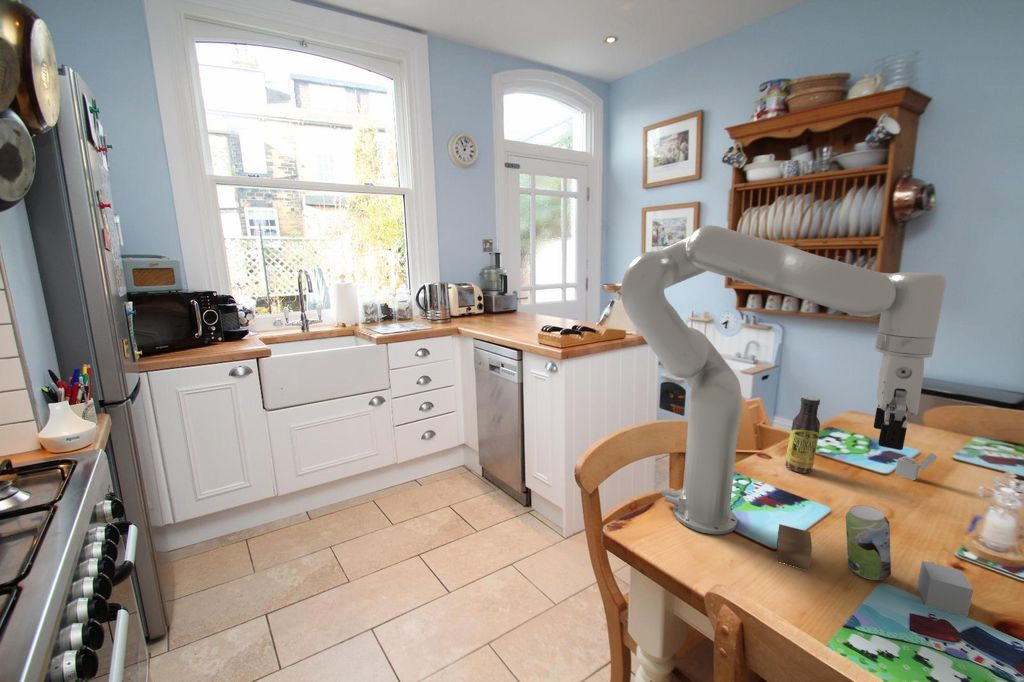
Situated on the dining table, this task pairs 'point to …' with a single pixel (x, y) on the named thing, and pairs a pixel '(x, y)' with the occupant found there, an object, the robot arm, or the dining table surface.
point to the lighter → (912, 466)
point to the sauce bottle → (804, 436)
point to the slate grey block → (944, 588)
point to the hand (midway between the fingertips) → (887, 438)
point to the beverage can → (868, 542)
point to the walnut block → (794, 547)
